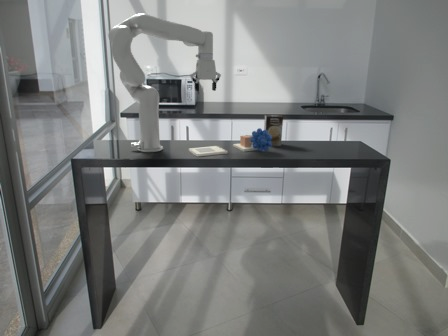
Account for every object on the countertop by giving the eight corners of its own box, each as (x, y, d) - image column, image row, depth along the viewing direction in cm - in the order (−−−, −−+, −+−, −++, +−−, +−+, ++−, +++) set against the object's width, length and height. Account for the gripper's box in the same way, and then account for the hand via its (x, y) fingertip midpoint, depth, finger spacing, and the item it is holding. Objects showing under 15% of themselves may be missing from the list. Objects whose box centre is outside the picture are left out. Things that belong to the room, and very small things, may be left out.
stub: (243, 151, 179) (243, 139, 177) (232, 146, 189) (233, 134, 188) (257, 150, 182) (257, 138, 181) (246, 145, 193) (246, 133, 191)
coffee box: (264, 145, 192) (266, 116, 187) (262, 143, 198) (264, 114, 193) (281, 146, 192) (283, 116, 187) (279, 143, 198) (281, 114, 194)
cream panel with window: (197, 156, 169) (197, 154, 169) (188, 150, 179) (188, 148, 179) (227, 153, 175) (227, 150, 175) (217, 148, 186) (217, 145, 185)
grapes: (252, 154, 175) (253, 130, 171) (248, 150, 181) (249, 127, 177) (274, 153, 177) (276, 129, 173) (270, 150, 183) (271, 127, 180)
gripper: (192, 56, 177) (192, 91, 182) (223, 57, 184) (223, 90, 189) (187, 56, 184) (187, 90, 189) (217, 57, 191) (217, 89, 196)
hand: (205, 90), depth 189 cm, fingers open, 9 cm apart
